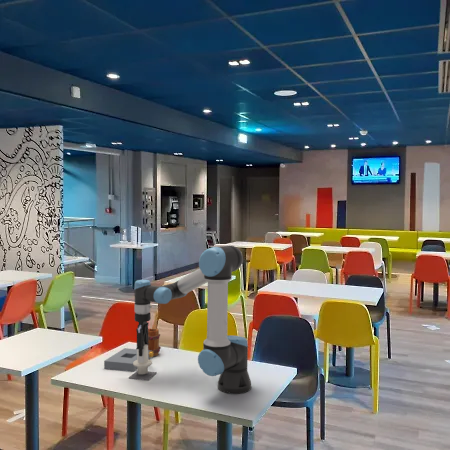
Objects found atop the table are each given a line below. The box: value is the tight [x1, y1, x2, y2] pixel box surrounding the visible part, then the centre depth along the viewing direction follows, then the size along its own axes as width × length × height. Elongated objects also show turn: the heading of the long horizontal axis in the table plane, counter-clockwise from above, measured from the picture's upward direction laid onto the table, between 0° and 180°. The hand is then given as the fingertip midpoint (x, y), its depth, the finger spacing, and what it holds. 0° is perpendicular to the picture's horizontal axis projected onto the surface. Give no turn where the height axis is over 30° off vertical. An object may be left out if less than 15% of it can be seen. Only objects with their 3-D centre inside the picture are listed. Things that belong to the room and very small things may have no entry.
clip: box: [148, 351, 154, 360], centre depth 245 cm, size 18×3×3 cm, turn 29°
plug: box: [133, 341, 153, 374], centre depth 228 cm, size 9×9×15 cm
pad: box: [128, 370, 157, 381], centre depth 229 cm, size 10×10×1 cm
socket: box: [103, 347, 151, 373], centre depth 247 cm, size 22×16×5 cm
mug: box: [147, 324, 162, 357], centre depth 263 cm, size 15×8×15 cm, turn 179°
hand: (142, 360), depth 229 cm, fingers closed on plug, 5 cm apart
